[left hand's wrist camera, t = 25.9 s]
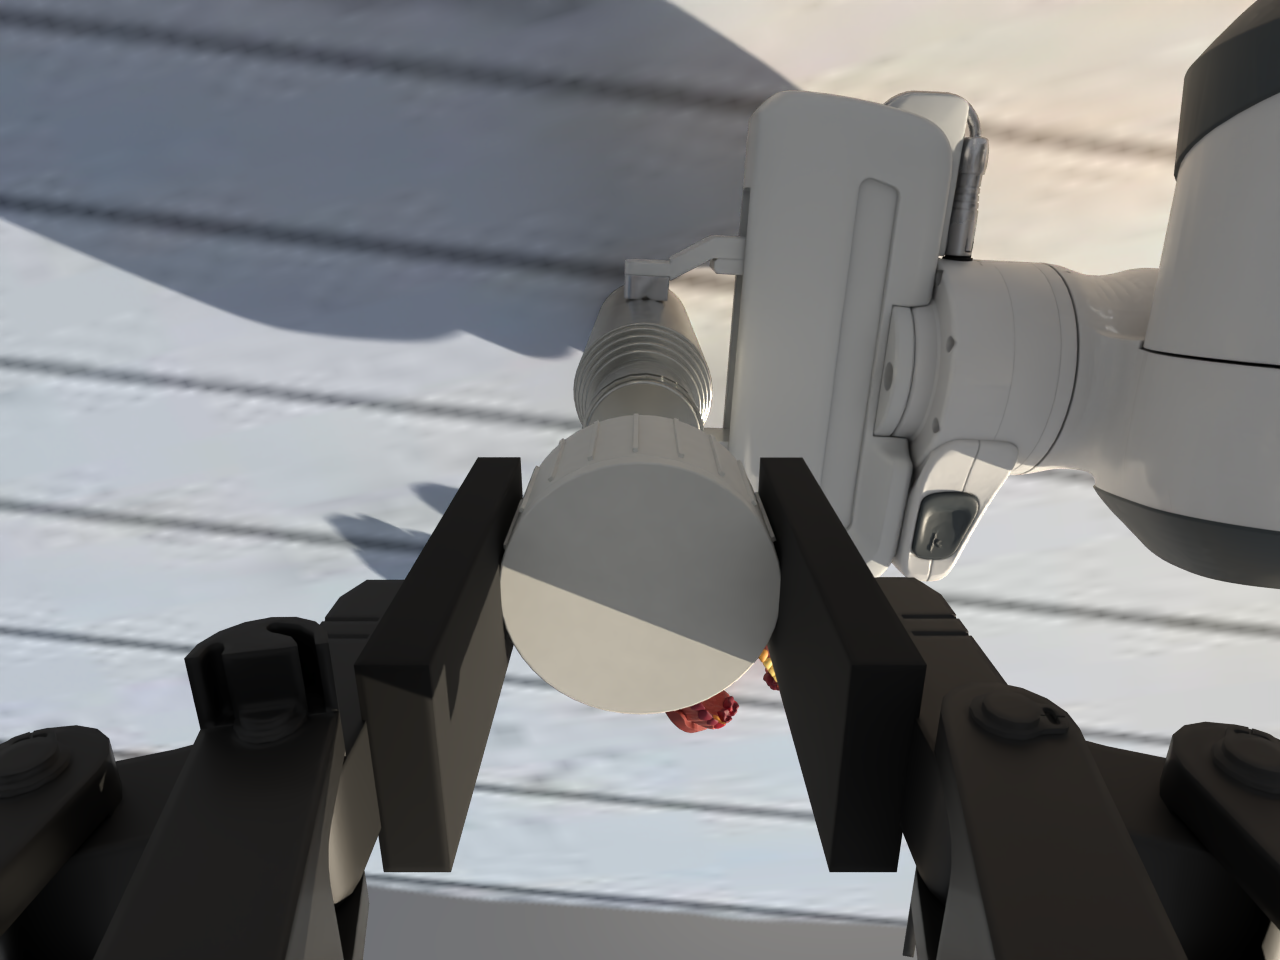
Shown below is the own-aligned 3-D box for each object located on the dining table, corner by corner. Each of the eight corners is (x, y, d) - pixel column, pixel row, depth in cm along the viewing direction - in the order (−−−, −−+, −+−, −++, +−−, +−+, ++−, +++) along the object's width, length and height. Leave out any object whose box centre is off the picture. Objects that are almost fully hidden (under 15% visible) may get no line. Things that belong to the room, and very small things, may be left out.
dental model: (827, 694, 41) (698, 764, 43) (813, 652, 45) (695, 718, 47) (771, 613, 40) (640, 688, 42) (761, 577, 44) (642, 647, 46)
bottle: (697, 290, 39) (746, 370, 21) (678, 381, 40) (709, 530, 22) (604, 273, 39) (571, 338, 20) (589, 365, 40) (545, 502, 22)
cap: (528, 397, 14) (505, 442, 11) (781, 427, 14) (810, 479, 11) (511, 620, 15) (486, 702, 13) (738, 645, 15) (757, 730, 13)
